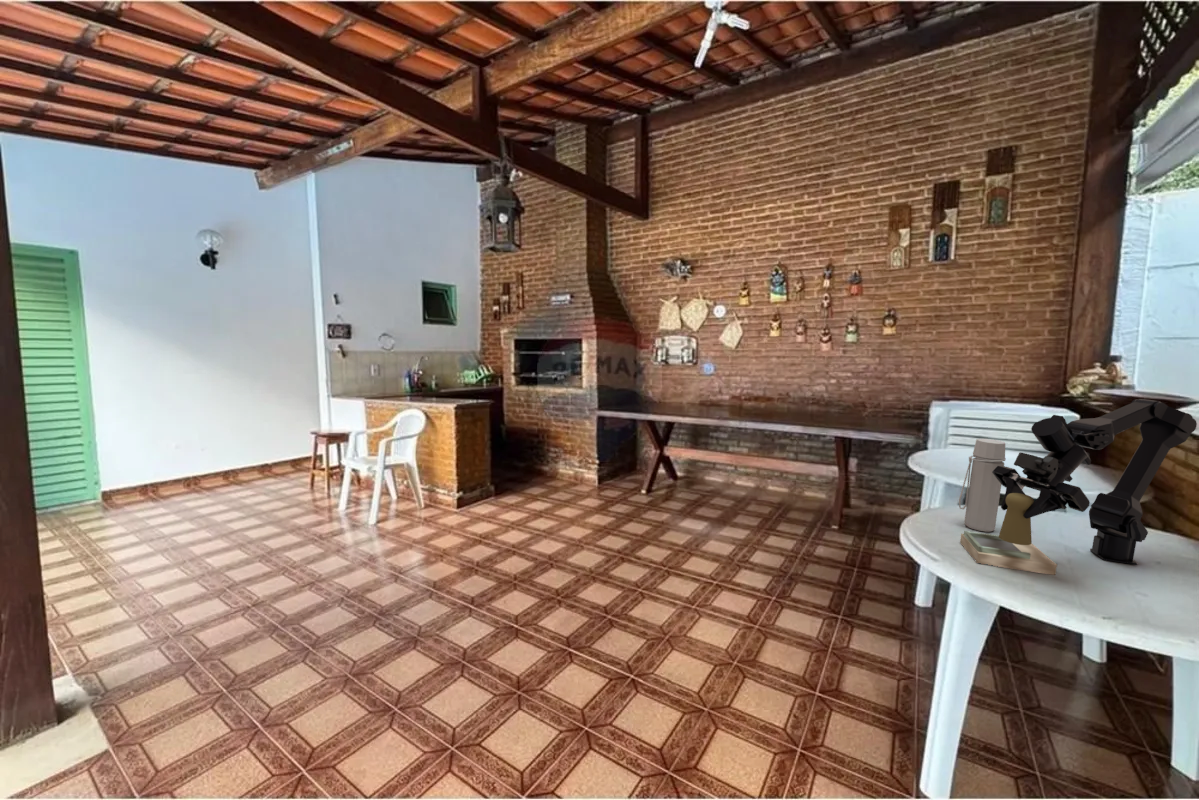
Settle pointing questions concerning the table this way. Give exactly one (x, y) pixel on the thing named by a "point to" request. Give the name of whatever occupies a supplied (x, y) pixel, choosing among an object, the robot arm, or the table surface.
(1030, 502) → the cork
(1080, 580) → the table surface
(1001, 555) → the dock
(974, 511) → the water bottle
